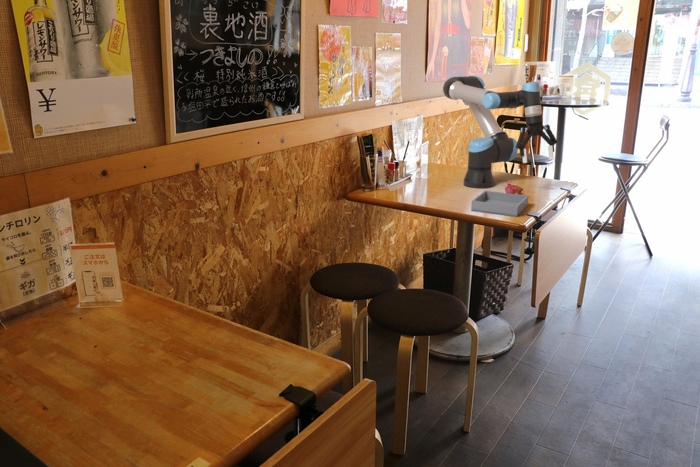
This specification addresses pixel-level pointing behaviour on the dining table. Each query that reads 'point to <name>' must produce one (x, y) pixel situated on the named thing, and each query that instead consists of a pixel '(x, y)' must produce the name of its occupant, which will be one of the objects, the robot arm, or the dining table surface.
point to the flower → (513, 188)
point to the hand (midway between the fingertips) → (538, 161)
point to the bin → (500, 203)
